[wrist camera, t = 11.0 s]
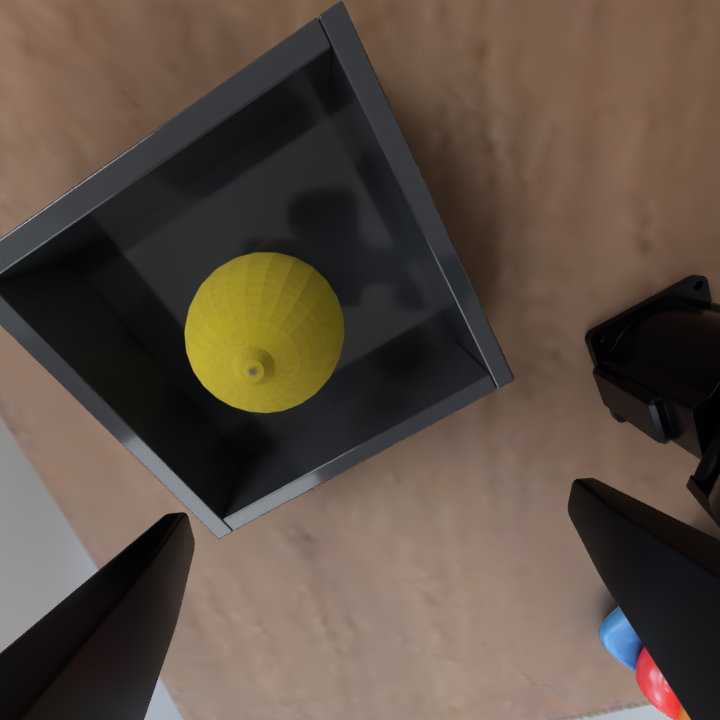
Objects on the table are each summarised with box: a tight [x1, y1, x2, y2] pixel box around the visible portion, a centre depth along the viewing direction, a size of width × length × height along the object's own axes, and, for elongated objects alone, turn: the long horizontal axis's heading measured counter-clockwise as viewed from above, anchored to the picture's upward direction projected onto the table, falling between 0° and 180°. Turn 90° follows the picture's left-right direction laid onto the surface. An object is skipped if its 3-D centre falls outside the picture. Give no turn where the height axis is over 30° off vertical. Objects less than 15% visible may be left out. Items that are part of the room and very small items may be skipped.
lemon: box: [185, 252, 344, 413], centre depth 14 cm, size 6×6×8 cm
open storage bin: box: [0, 1, 514, 539], centre depth 16 cm, size 15×14×5 cm
